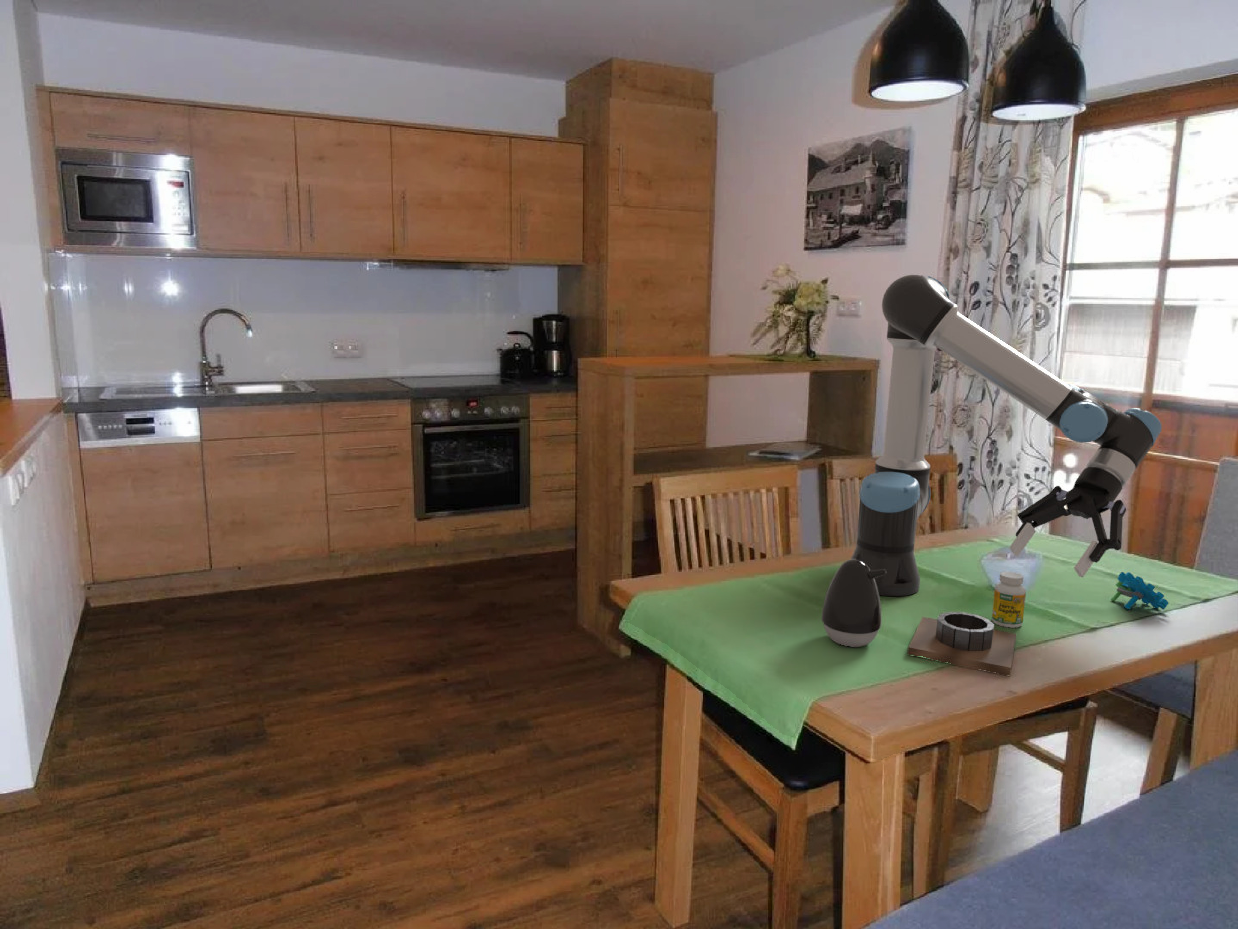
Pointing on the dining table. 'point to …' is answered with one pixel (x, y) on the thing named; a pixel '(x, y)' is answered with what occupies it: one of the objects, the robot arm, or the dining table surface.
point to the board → (987, 660)
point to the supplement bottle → (1009, 600)
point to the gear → (1138, 591)
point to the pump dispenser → (853, 604)
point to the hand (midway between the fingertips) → (1044, 562)
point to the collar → (964, 631)
